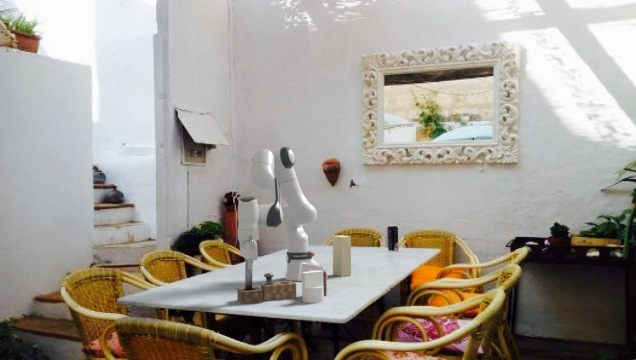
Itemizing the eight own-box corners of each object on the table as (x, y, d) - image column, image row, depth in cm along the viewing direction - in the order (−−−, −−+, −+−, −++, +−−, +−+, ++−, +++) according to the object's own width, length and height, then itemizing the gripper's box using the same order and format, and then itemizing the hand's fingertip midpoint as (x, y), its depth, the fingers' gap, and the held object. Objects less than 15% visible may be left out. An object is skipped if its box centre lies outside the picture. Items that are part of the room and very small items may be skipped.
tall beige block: (352, 275, 280) (351, 236, 281) (341, 276, 276) (340, 237, 276) (343, 273, 287) (342, 235, 287) (332, 275, 283) (332, 236, 283)
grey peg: (251, 291, 222) (251, 258, 222) (252, 292, 219) (253, 258, 220) (244, 291, 221) (244, 258, 221) (245, 292, 218) (246, 259, 219)
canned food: (320, 297, 224) (320, 272, 224) (305, 296, 228) (304, 270, 229) (330, 294, 231) (329, 269, 231) (314, 293, 235) (314, 268, 235)
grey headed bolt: (272, 291, 228) (272, 272, 229) (274, 293, 225) (274, 274, 225) (263, 292, 227) (263, 273, 227) (265, 294, 223) (265, 274, 224)
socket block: (291, 294, 233) (291, 280, 233) (296, 297, 226) (296, 283, 226) (260, 296, 229) (260, 283, 229) (264, 300, 221) (264, 286, 221)
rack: (258, 298, 226) (258, 286, 226) (262, 302, 217) (262, 290, 217) (237, 300, 223) (237, 288, 223) (241, 304, 214) (240, 292, 215)
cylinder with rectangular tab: (307, 303, 214) (306, 274, 214) (299, 299, 222) (298, 271, 222) (327, 301, 217) (326, 272, 217) (318, 297, 225) (318, 269, 226)
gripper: (261, 237, 212) (261, 271, 212) (251, 233, 231) (251, 265, 231) (245, 238, 210) (246, 272, 210) (237, 234, 229) (237, 266, 229)
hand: (249, 268), depth 220 cm, fingers closed on grey peg, 3 cm apart
